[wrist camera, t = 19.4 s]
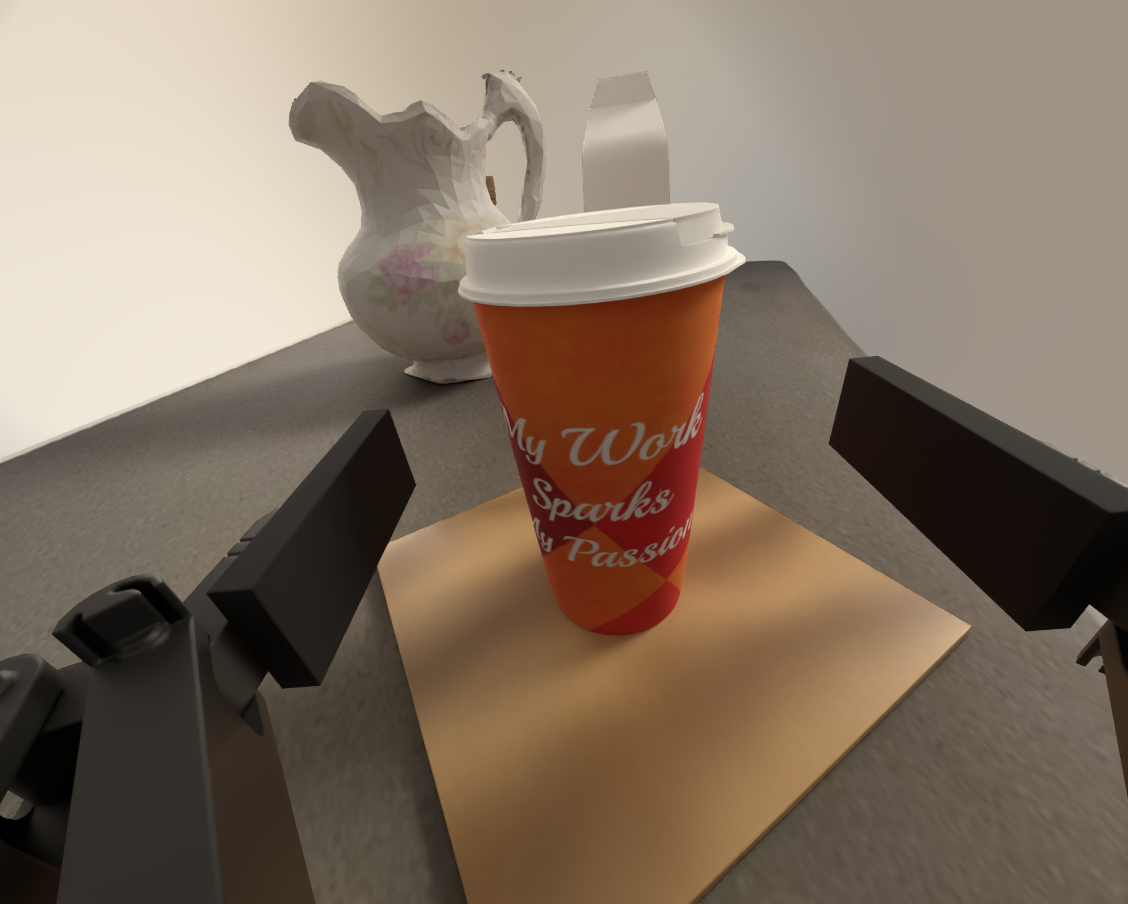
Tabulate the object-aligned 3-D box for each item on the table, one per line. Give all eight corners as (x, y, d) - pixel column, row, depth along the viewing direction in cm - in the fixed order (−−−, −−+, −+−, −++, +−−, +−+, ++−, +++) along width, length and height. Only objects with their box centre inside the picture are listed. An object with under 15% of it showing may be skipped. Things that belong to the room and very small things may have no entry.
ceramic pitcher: (514, 331, 60) (466, 111, 49) (611, 345, 46) (575, 37, 34) (359, 383, 50) (250, 117, 38) (422, 421, 35) (278, 14, 24)
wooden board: (967, 636, 16) (973, 626, 15) (518, 1080, 9) (513, 1077, 9) (646, 442, 29) (646, 434, 29) (375, 557, 23) (371, 549, 22)
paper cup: (505, 649, 17) (386, 252, 9) (550, 518, 23) (500, 220, 16) (721, 676, 15) (784, 210, 7) (705, 525, 21) (730, 193, 14)
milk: (588, 307, 63) (569, 75, 49) (592, 290, 72) (578, 92, 59) (672, 300, 61) (677, 56, 47) (666, 283, 71) (668, 77, 57)
